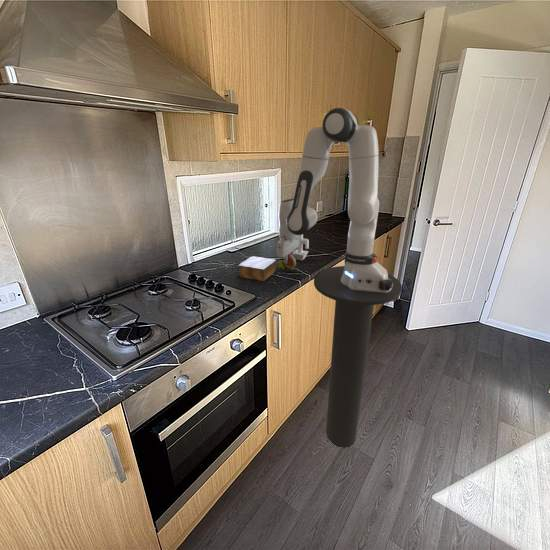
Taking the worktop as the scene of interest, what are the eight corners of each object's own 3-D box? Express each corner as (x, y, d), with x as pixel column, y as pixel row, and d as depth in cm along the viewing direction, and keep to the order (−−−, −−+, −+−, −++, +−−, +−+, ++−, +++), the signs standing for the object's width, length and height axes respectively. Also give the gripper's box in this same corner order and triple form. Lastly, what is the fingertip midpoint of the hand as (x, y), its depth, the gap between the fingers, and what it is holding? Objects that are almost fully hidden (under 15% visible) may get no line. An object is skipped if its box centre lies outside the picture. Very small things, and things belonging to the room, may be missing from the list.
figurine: (305, 262, 156) (306, 234, 150) (289, 259, 160) (289, 232, 154) (310, 257, 162) (311, 231, 156) (294, 255, 166) (295, 229, 160)
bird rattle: (295, 272, 148) (281, 262, 152) (303, 254, 142) (289, 244, 146) (288, 275, 144) (274, 265, 147) (296, 257, 138) (282, 247, 141)
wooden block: (276, 271, 145) (276, 259, 143) (264, 281, 134) (263, 269, 131) (252, 267, 150) (252, 256, 148) (238, 276, 139) (237, 265, 137)
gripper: (285, 240, 130) (285, 269, 135) (301, 229, 147) (301, 255, 152) (272, 238, 132) (273, 267, 138) (290, 228, 149) (290, 254, 155)
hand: (288, 261), depth 145 cm, fingers closed on bird rattle, 4 cm apart
